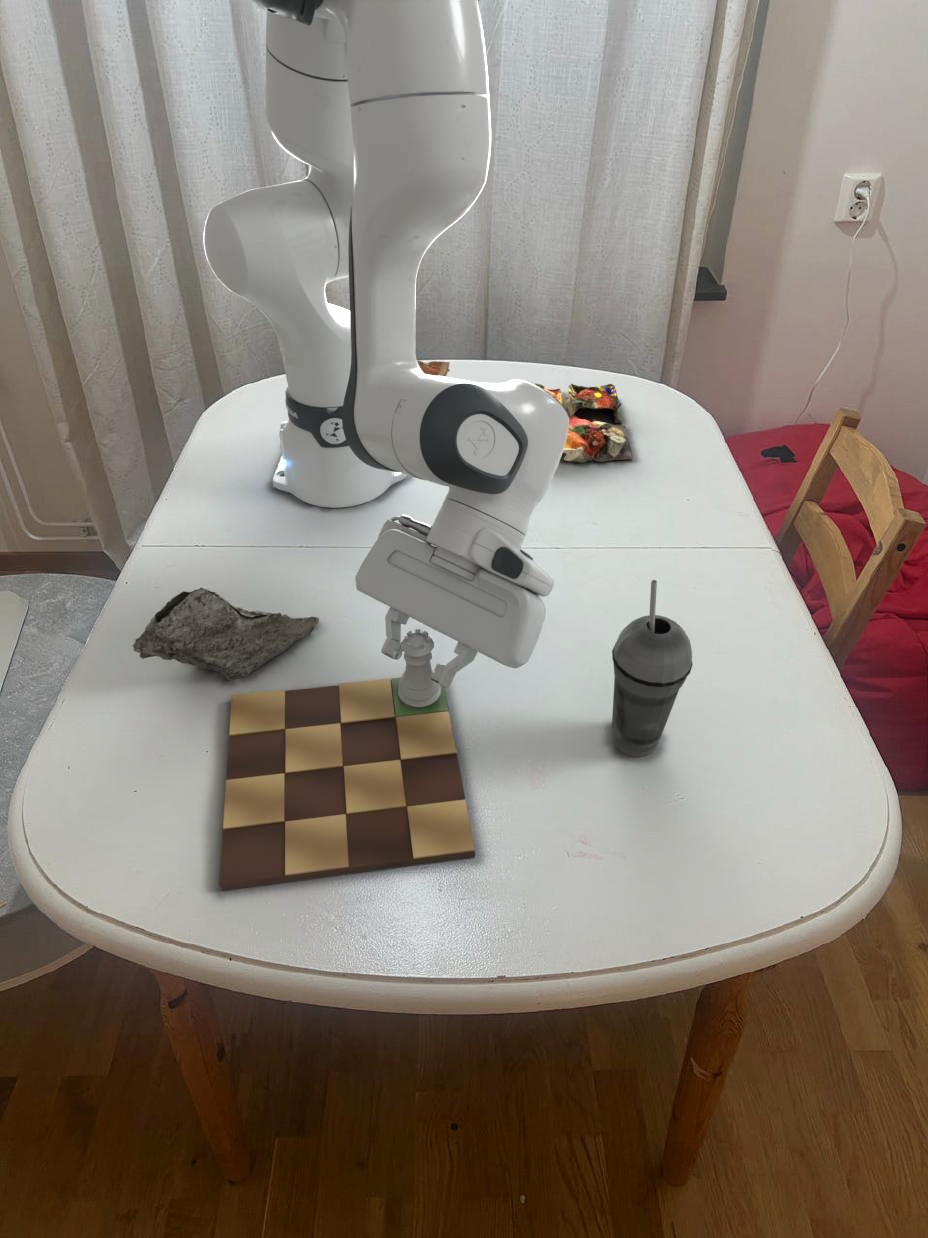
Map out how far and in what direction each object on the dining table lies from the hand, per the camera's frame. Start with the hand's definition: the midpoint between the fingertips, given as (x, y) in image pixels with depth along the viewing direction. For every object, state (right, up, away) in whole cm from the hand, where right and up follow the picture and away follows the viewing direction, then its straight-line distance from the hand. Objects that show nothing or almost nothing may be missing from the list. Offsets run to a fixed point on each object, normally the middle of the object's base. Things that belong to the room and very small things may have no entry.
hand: (414, 670), depth 85 cm
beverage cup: (+22, -7, 0) cm, 23 cm away
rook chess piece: (0, -3, +3) cm, 4 cm away
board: (-7, -10, -3) cm, 12 cm away
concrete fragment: (-20, +1, +9) cm, 22 cm away
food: (+21, +35, +47) cm, 62 cm away
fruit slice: (-2, +43, +56) cm, 71 cm away
